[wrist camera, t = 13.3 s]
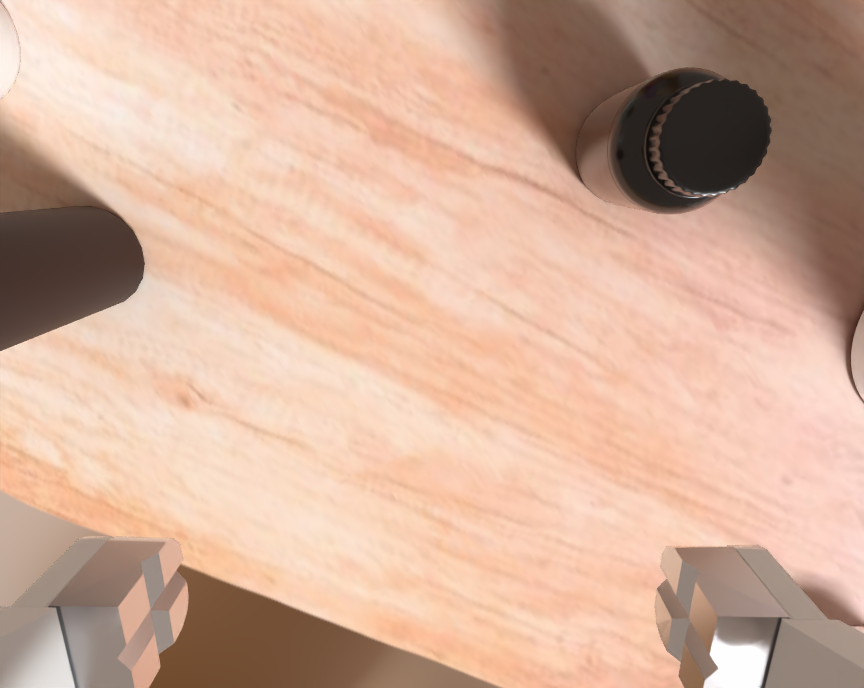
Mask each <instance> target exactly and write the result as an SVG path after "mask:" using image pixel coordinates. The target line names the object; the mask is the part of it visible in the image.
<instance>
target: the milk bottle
mask: <svg viewBox="0 0 864 688" xmlns="http://www.w3.org/2000/svg"><path fill="white" fill-rule="evenodd" d="M20 62H21V55H20V44H19V39H18V34H17V31H16V29H15V26H14V23H13V21H12V19H11V18H10V16H9V14H8V12H7V10H6V9H5V7H4V6H3V5H2V4H1V3H0V99H1V98H2V97H3V96H4V95H6V94H7V93H8V92H9V91H10V89H11V87H12V86H13V85H14V83H15V81H16V78H17V76H18V73H19V68H20Z"/></svg>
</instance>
